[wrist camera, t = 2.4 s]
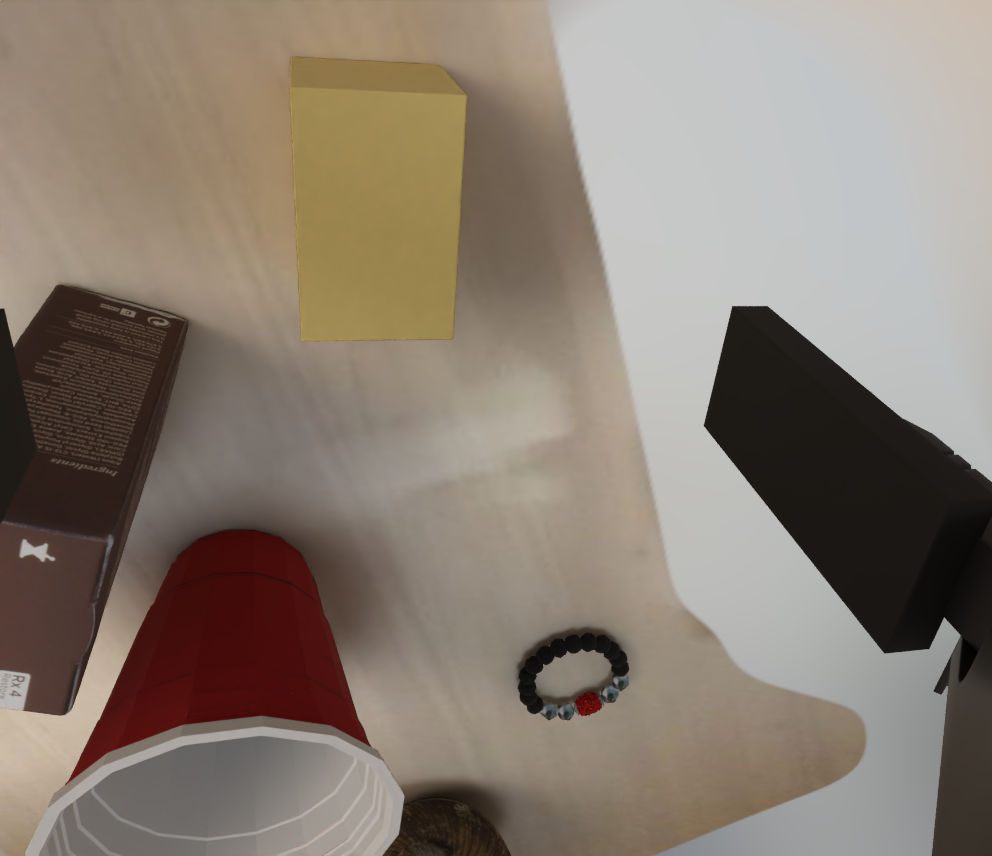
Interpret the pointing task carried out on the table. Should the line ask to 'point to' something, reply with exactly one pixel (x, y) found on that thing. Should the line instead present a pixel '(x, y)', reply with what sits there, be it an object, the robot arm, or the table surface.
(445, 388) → the table surface
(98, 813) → the plastic cup
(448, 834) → the seashell
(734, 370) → the robot arm
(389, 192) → the butter
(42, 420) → the box
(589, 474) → the table surface
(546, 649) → the bracelet
